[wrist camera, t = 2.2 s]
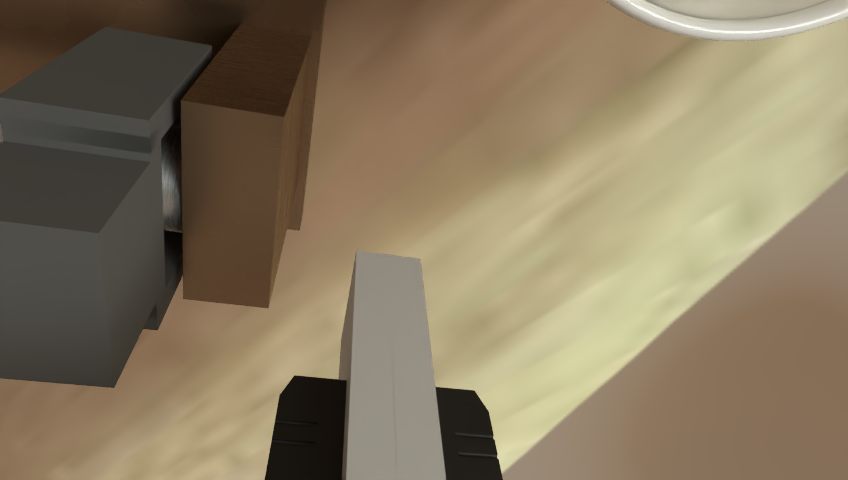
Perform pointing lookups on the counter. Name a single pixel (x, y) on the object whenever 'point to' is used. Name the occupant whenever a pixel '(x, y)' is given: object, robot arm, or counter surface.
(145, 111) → the collar
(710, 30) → the candle holder
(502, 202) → the counter surface
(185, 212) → the pipe rig
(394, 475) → the robot arm
